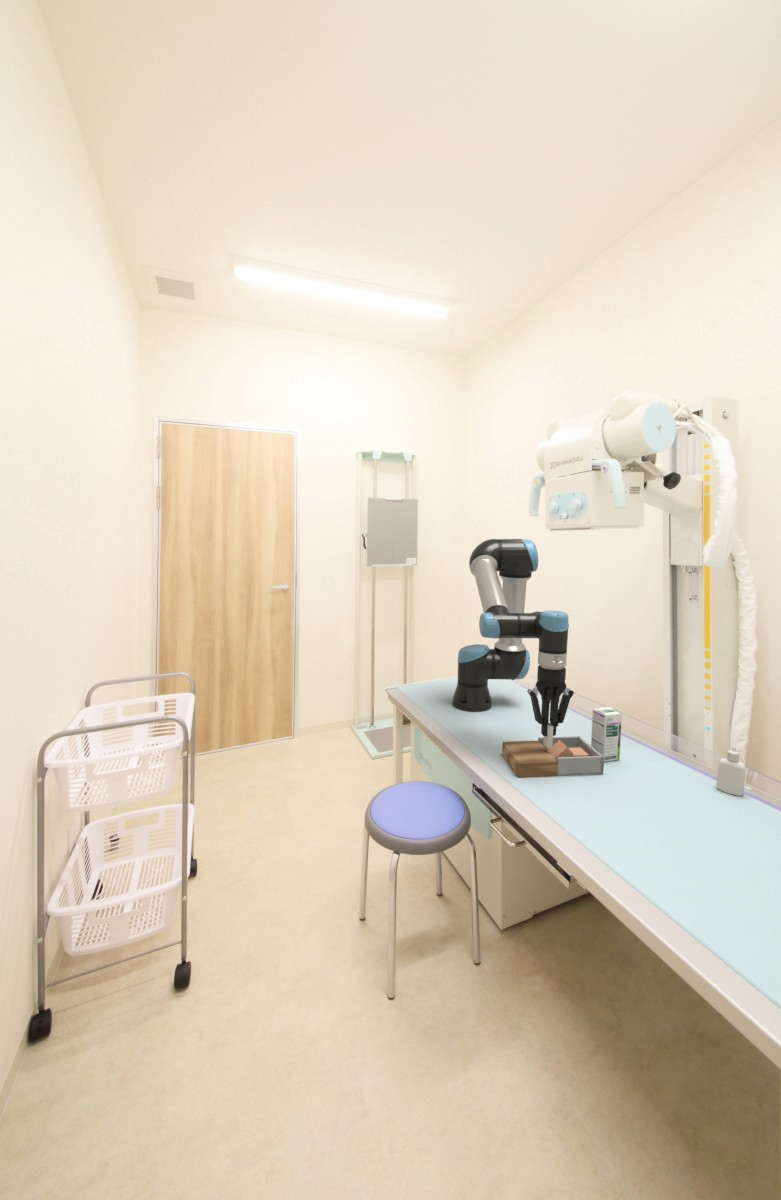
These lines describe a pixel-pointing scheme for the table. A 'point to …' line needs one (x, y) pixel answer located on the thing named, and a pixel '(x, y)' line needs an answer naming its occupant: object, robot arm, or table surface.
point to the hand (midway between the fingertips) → (547, 746)
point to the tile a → (560, 750)
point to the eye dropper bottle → (731, 774)
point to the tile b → (578, 752)
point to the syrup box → (606, 732)
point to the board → (529, 759)
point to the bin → (578, 758)
